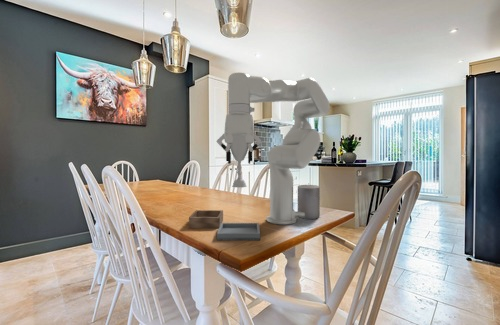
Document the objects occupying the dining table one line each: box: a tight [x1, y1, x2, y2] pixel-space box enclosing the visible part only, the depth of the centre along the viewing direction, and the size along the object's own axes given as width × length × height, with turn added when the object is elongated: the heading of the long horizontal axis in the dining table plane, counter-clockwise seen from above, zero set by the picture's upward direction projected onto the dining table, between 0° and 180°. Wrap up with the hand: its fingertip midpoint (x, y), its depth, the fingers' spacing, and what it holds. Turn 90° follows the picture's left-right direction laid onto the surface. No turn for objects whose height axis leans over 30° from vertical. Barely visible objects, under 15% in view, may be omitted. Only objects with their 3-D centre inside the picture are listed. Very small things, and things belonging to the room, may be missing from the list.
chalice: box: [230, 133, 249, 188], centre depth 82 cm, size 7×7×18 cm
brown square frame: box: [188, 209, 224, 229], centre depth 95 cm, size 12×12×4 cm
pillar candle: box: [297, 183, 321, 220], centre depth 106 cm, size 10×10×15 cm
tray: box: [216, 222, 261, 241], centre depth 83 cm, size 14×12×2 cm
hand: (239, 163), depth 82 cm, fingers closed on chalice, 6 cm apart
